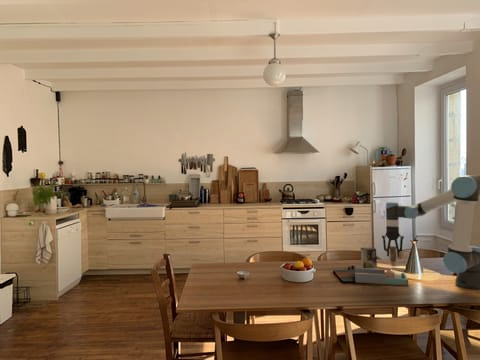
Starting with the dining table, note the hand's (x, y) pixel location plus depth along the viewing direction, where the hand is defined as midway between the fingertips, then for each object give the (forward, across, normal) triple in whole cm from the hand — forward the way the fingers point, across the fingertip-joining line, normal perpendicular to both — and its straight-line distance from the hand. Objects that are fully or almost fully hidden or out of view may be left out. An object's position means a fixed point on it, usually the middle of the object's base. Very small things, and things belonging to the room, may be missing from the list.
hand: (393, 261), depth 236 cm
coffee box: (+9, +15, -5) cm, 18 cm away
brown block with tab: (+2, 0, 0) cm, 2 cm away
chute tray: (+9, 0, +14) cm, 17 cm away
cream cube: (+6, +1, +14) cm, 15 cm away
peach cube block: (+7, +4, +14) cm, 16 cm away
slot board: (+9, +15, +14) cm, 22 cm away
